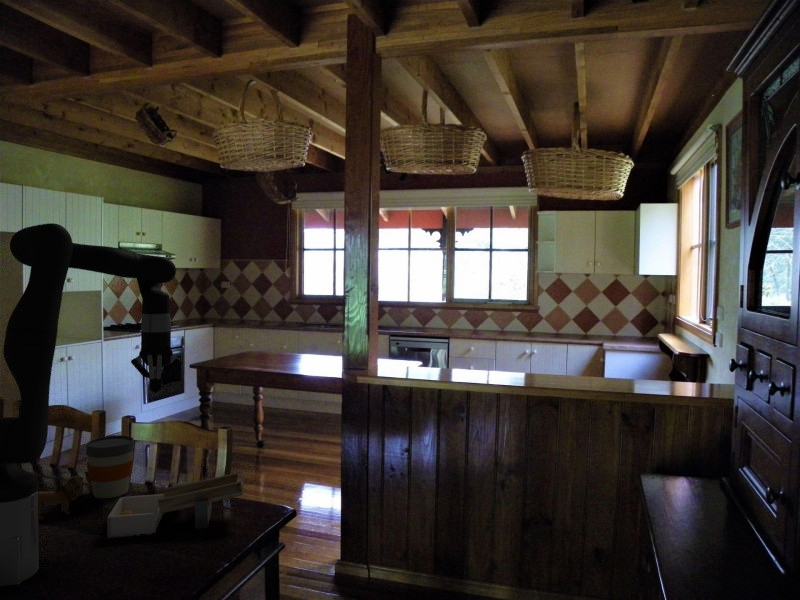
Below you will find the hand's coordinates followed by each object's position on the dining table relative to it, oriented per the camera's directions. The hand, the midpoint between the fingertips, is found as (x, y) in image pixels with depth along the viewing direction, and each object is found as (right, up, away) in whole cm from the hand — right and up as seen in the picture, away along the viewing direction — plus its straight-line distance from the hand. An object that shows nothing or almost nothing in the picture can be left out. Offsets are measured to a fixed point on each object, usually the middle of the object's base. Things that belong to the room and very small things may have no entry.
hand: (156, 392), depth 152 cm
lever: (+16, -27, -5) cm, 31 cm away
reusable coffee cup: (-17, -31, +7) cm, 36 cm away
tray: (+1, -32, -13) cm, 34 cm away
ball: (-2, -29, -14) cm, 32 cm away
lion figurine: (-24, -31, -7) cm, 40 cm away
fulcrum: (+16, -32, -9) cm, 37 cm away
